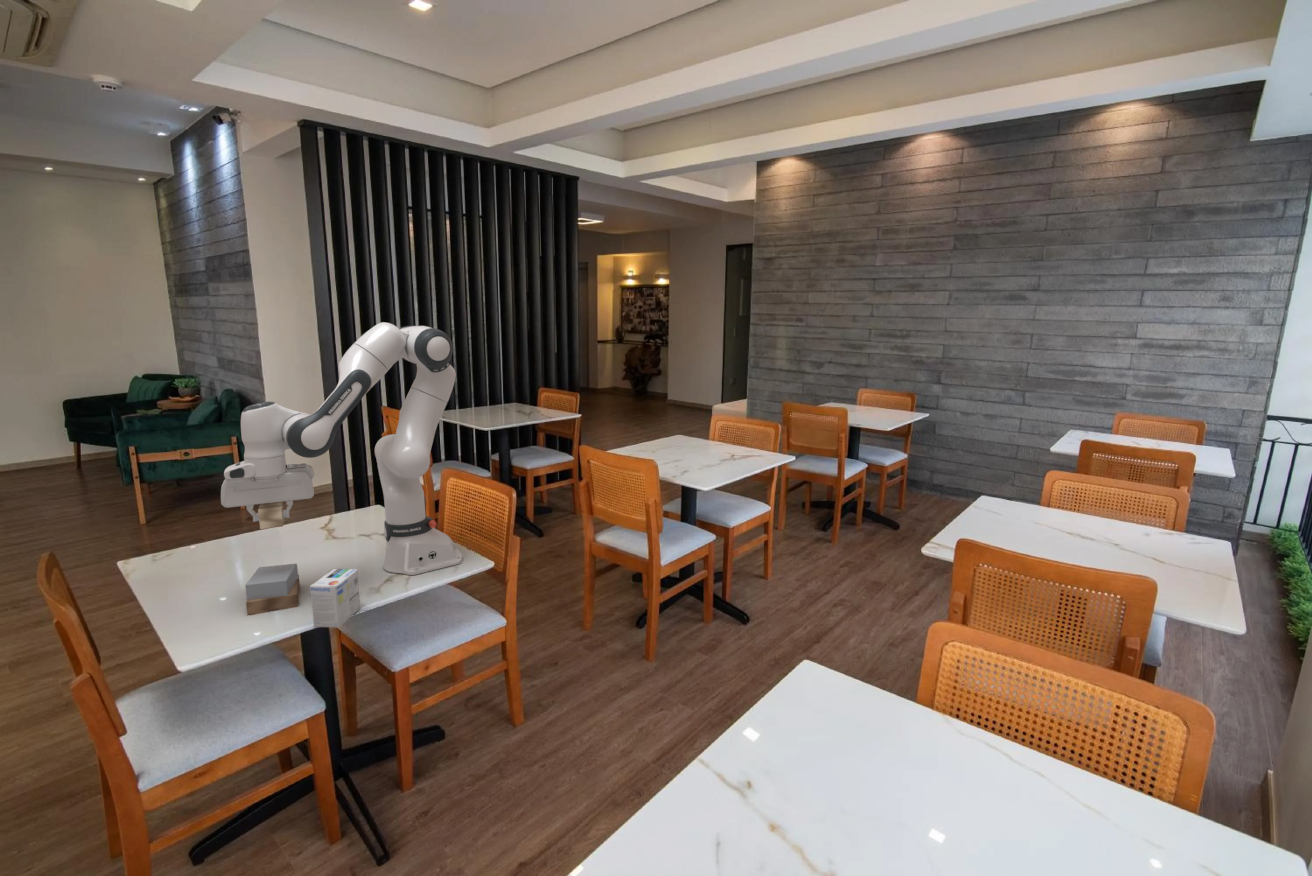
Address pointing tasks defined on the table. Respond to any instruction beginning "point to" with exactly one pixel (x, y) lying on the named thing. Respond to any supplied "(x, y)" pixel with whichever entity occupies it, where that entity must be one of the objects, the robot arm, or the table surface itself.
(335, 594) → the light bulb box
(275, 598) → the walnut base slab
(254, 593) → the slate grey block
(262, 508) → the birch cube
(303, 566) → the table surface
